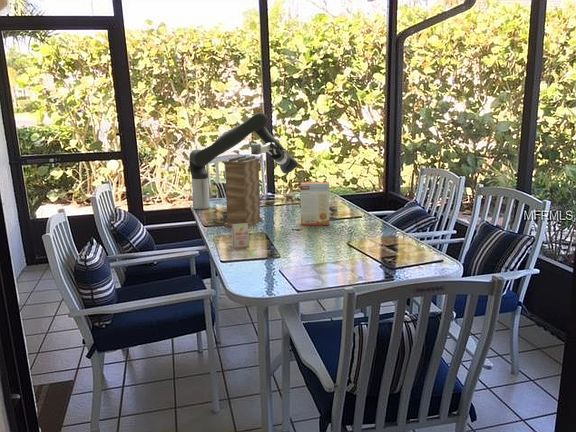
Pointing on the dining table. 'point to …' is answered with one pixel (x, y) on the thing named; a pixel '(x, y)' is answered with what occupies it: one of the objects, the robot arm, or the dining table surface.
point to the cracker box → (314, 203)
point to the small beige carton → (240, 235)
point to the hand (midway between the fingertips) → (267, 144)
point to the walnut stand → (242, 191)
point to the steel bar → (260, 148)
